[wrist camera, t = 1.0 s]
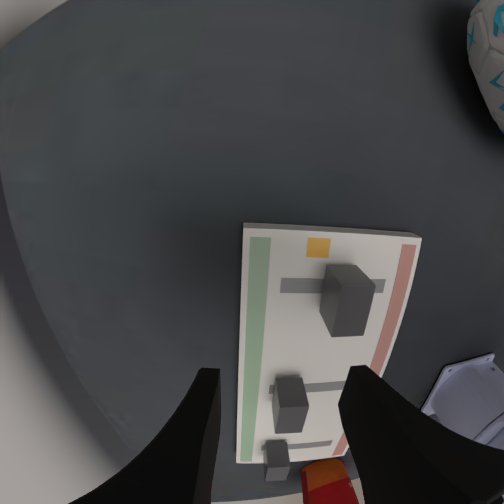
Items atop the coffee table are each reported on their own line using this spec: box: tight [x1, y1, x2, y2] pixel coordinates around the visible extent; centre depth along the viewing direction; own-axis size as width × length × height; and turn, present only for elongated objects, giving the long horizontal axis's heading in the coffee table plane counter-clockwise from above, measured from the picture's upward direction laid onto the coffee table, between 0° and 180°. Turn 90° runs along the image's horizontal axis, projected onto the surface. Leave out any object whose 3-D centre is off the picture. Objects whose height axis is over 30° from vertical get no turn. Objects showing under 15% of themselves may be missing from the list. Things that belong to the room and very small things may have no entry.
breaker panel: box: [236, 222, 422, 463], centre depth 21 cm, size 12×25×2 cm, turn 177°
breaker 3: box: [319, 264, 376, 337], centre depth 16 cm, size 2×3×3 cm, turn 177°
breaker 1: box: [272, 377, 309, 434], centre depth 19 cm, size 2×3×3 cm, turn 177°
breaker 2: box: [263, 442, 291, 481], centre depth 21 cm, size 2×3×3 cm, turn 177°
